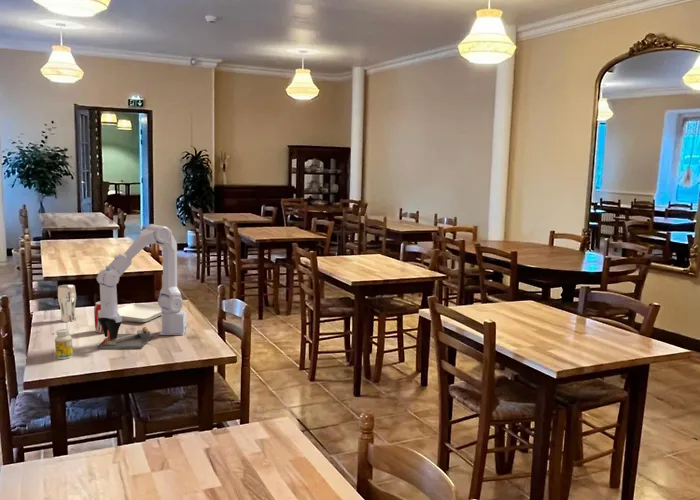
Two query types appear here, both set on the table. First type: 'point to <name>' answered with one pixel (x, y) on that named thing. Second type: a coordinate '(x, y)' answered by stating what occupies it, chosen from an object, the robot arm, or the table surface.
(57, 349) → the supplement bottle
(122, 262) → the robot arm
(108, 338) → the lever
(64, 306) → the beer glass
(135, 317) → the salad plate
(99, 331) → the soda can
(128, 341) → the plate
